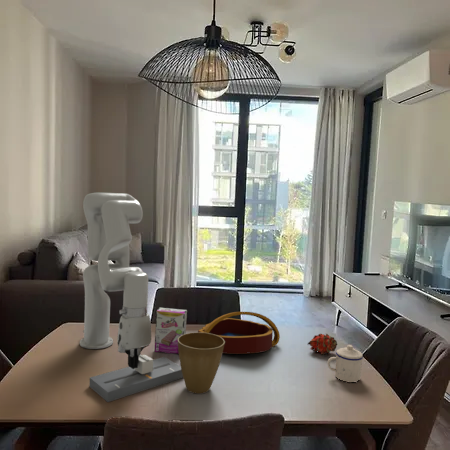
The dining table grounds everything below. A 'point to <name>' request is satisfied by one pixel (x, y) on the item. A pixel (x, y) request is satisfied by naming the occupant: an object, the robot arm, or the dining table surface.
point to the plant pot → (199, 359)
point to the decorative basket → (243, 333)
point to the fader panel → (134, 379)
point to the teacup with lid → (347, 364)
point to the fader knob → (144, 364)
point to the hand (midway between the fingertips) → (133, 366)
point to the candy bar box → (169, 329)
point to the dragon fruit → (323, 343)
